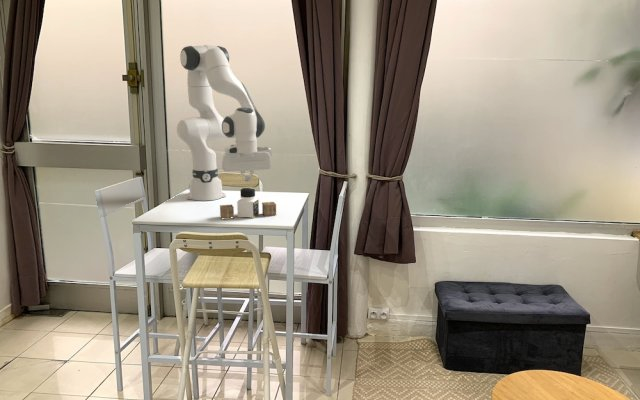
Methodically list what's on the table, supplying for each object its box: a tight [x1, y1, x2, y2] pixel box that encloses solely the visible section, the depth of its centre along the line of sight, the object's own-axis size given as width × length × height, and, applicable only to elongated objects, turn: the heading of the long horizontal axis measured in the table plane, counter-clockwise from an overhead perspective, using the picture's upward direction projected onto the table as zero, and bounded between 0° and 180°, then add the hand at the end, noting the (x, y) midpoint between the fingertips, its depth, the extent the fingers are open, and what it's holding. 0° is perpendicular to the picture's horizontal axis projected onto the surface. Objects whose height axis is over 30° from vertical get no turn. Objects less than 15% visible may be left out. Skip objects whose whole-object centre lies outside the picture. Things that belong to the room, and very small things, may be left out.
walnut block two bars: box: [261, 201, 277, 217], centre depth 230 cm, size 5×5×5 cm
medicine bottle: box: [236, 187, 260, 219], centre depth 227 cm, size 7×7×12 cm
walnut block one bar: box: [219, 204, 235, 219], centre depth 225 cm, size 5×5×5 cm
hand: (247, 180), depth 225 cm, fingers closed
